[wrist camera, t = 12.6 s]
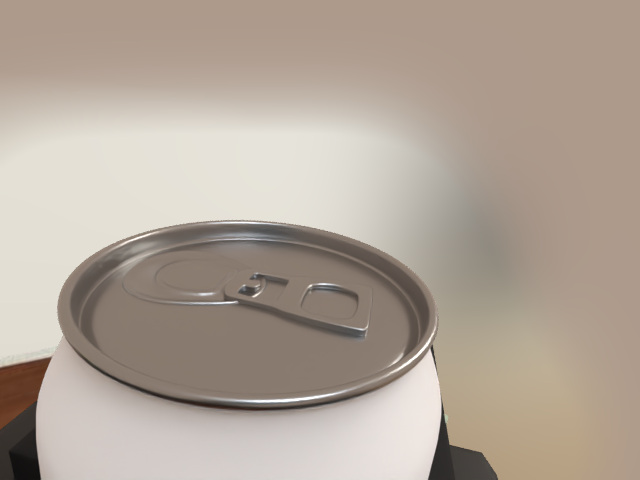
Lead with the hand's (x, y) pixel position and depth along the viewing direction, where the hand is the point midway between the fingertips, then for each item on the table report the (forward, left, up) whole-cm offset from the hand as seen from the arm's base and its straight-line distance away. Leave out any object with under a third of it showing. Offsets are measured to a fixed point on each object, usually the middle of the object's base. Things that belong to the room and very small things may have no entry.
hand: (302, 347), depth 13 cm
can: (-2, +5, -7) cm, 9 cm away
